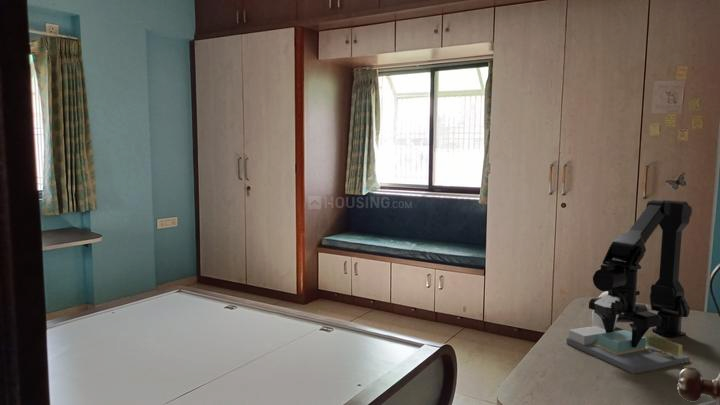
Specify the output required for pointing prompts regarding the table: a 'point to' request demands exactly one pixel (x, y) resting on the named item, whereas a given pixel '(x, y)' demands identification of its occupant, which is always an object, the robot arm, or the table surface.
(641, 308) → the flashlight
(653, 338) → the yellow rectangular block
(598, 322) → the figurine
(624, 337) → the cover
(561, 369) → the table surface
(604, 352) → the panel
